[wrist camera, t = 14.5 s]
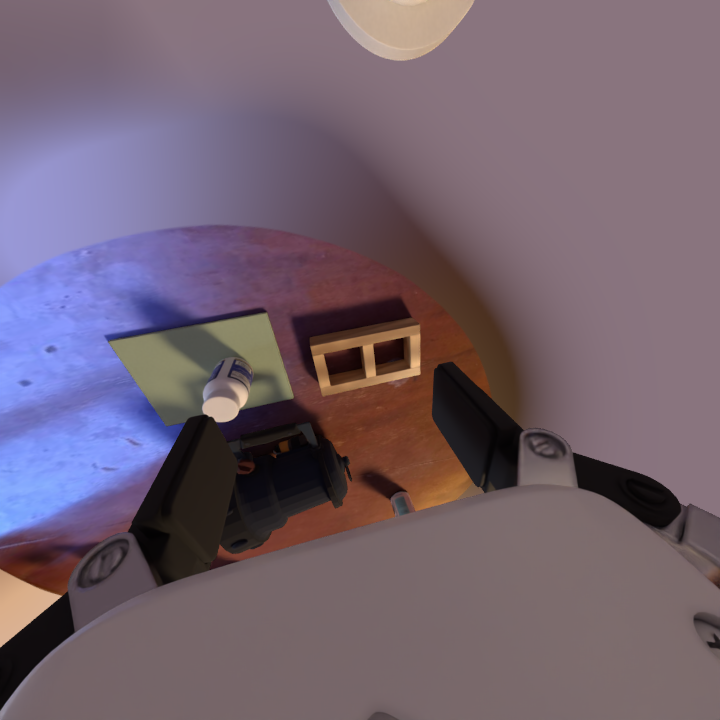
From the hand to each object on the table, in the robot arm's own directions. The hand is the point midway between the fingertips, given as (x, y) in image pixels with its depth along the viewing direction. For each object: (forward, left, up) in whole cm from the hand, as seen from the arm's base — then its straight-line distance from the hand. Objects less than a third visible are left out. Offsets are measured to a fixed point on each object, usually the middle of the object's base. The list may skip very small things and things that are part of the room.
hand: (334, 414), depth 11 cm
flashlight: (+28, -11, -28) cm, 41 cm away
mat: (+11, -17, -28) cm, 34 cm away
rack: (+13, +6, -28) cm, 31 cm away
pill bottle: (+11, -14, -27) cm, 33 cm away
